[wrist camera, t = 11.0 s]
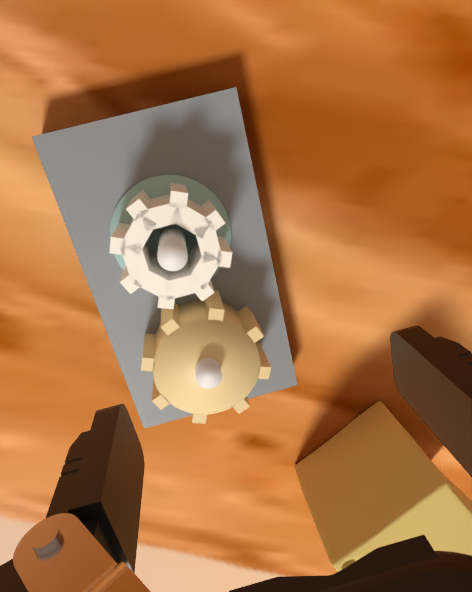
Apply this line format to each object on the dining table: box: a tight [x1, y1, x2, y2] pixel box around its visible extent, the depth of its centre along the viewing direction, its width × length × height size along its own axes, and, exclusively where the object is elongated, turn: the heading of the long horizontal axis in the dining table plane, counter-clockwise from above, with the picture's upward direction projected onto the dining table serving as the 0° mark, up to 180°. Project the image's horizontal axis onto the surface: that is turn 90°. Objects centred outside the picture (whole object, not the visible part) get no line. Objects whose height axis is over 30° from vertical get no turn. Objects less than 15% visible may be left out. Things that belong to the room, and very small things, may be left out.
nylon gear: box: [110, 183, 233, 309], centre depth 25 cm, size 6×6×4 cm
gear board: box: [32, 87, 297, 429], centre depth 27 cm, size 12×21×7 cm, turn 13°
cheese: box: [295, 401, 472, 571], centre depth 35 cm, size 10×11×10 cm
